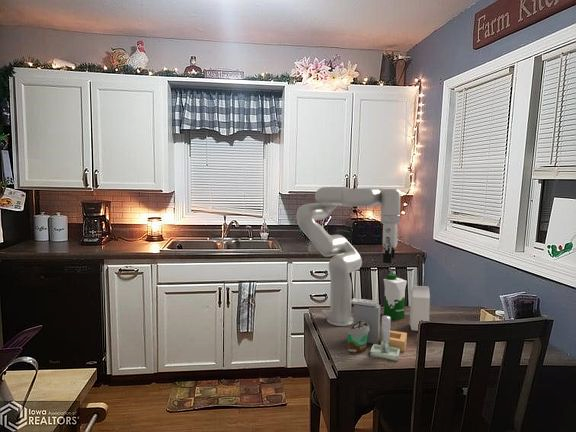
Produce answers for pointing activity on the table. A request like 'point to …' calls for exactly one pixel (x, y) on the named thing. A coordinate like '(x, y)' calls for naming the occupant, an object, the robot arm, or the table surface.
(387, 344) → the pin
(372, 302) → the keeper plate
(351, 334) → the food container
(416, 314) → the milk carton
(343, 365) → the table surface
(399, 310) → the soya milk
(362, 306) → the hitch
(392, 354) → the tray
